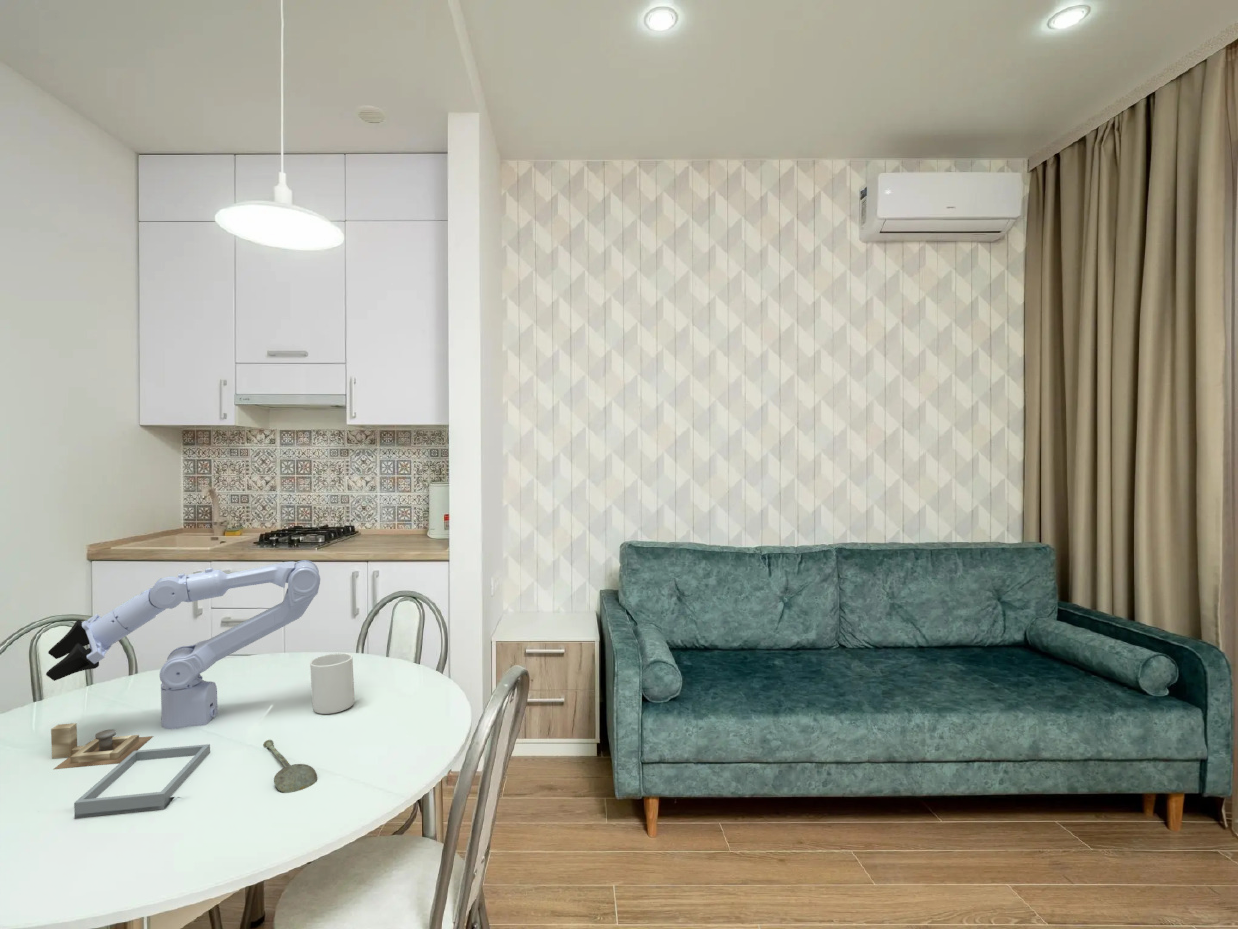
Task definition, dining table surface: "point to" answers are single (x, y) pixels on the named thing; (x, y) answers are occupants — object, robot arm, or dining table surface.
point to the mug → (332, 683)
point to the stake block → (105, 745)
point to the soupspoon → (292, 773)
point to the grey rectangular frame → (138, 802)
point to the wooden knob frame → (67, 745)
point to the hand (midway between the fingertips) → (51, 666)
